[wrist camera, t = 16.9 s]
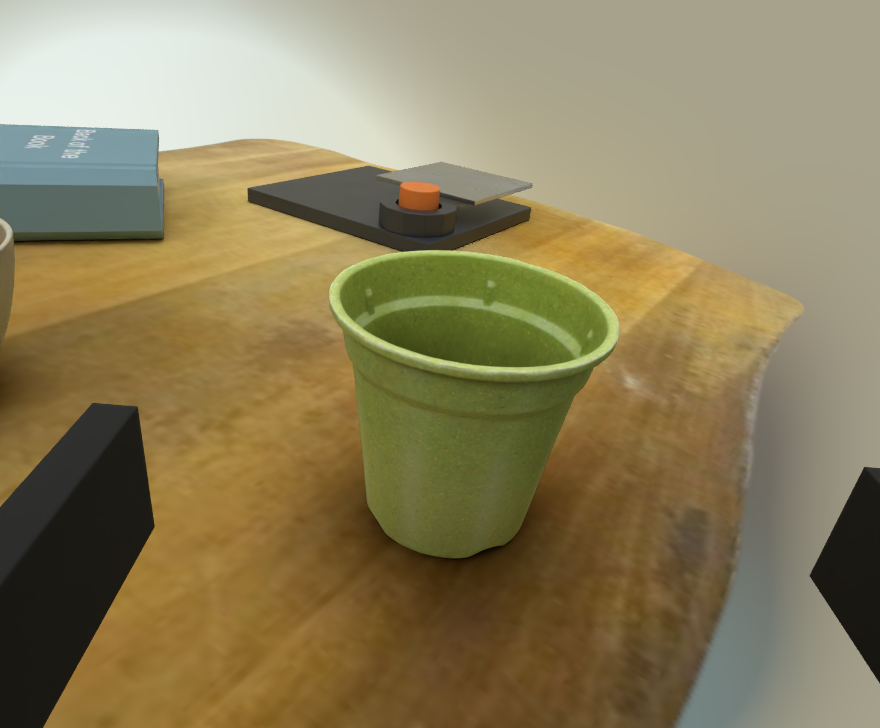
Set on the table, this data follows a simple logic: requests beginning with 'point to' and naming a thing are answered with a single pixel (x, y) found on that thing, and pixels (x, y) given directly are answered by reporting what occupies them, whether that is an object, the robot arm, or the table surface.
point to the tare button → (419, 196)
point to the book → (80, 183)
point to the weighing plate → (458, 182)
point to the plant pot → (463, 387)
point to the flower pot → (6, 275)
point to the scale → (386, 211)
